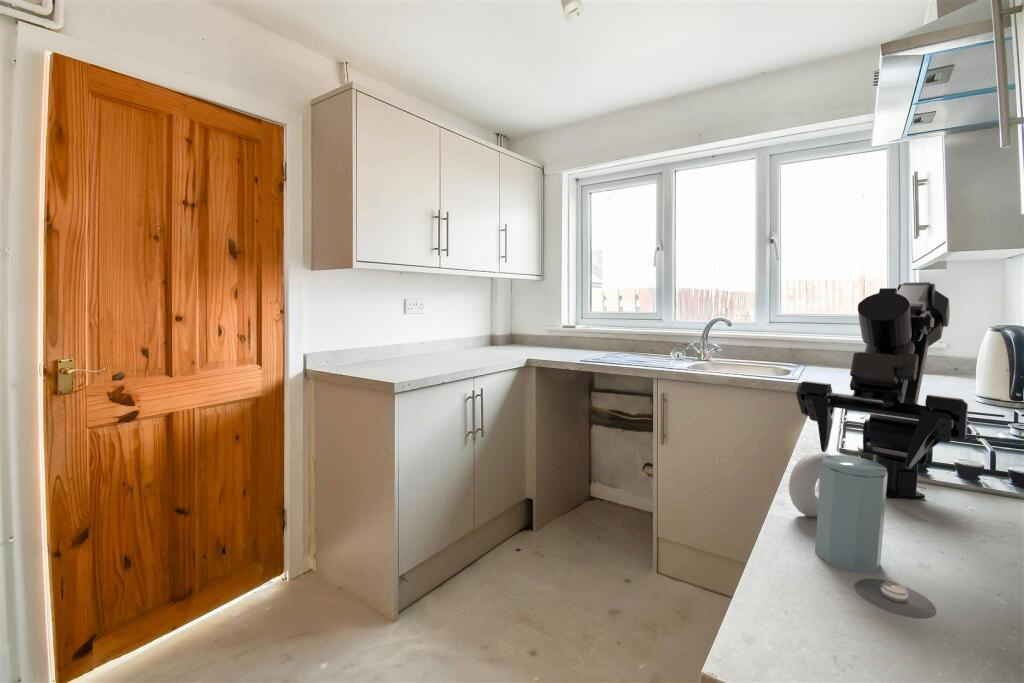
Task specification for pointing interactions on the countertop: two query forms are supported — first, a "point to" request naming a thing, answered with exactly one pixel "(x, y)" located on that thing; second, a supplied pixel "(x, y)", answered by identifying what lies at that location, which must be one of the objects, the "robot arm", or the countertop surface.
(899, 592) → the tealight
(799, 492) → the donut
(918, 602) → the slate coaster
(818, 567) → the countertop surface
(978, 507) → the countertop surface
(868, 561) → the dome-topped hexagonal post
